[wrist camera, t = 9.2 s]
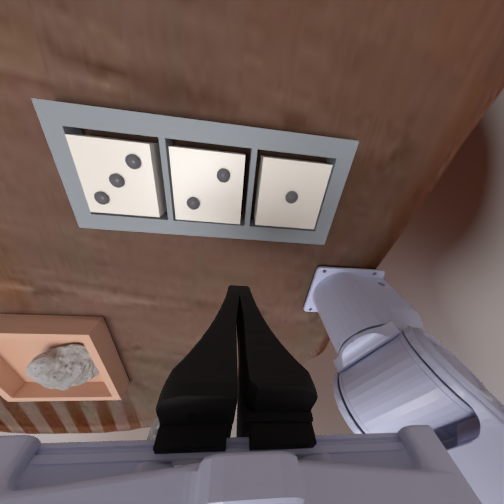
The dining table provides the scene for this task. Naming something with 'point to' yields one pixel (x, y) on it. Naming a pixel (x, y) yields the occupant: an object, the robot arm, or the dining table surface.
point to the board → (167, 128)
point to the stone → (62, 367)
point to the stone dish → (52, 336)
